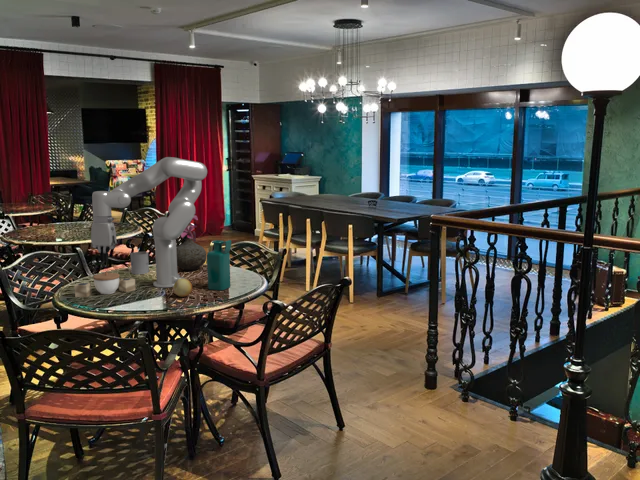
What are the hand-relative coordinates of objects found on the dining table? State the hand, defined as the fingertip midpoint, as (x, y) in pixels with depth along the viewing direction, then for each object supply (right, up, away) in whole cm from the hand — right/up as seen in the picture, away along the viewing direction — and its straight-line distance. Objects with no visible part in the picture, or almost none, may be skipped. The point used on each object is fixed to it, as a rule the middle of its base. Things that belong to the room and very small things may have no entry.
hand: (104, 261), depth 255 cm
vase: (+26, -6, +50) cm, 57 cm away
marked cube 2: (+8, -13, +7) cm, 17 cm away
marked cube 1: (-8, -15, -2) cm, 17 cm away
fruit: (+36, -15, -5) cm, 39 cm away
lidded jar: (+1, -14, +3) cm, 14 cm away
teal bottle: (+49, -13, +9) cm, 52 cm away
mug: (+2, -7, +45) cm, 46 cm away
